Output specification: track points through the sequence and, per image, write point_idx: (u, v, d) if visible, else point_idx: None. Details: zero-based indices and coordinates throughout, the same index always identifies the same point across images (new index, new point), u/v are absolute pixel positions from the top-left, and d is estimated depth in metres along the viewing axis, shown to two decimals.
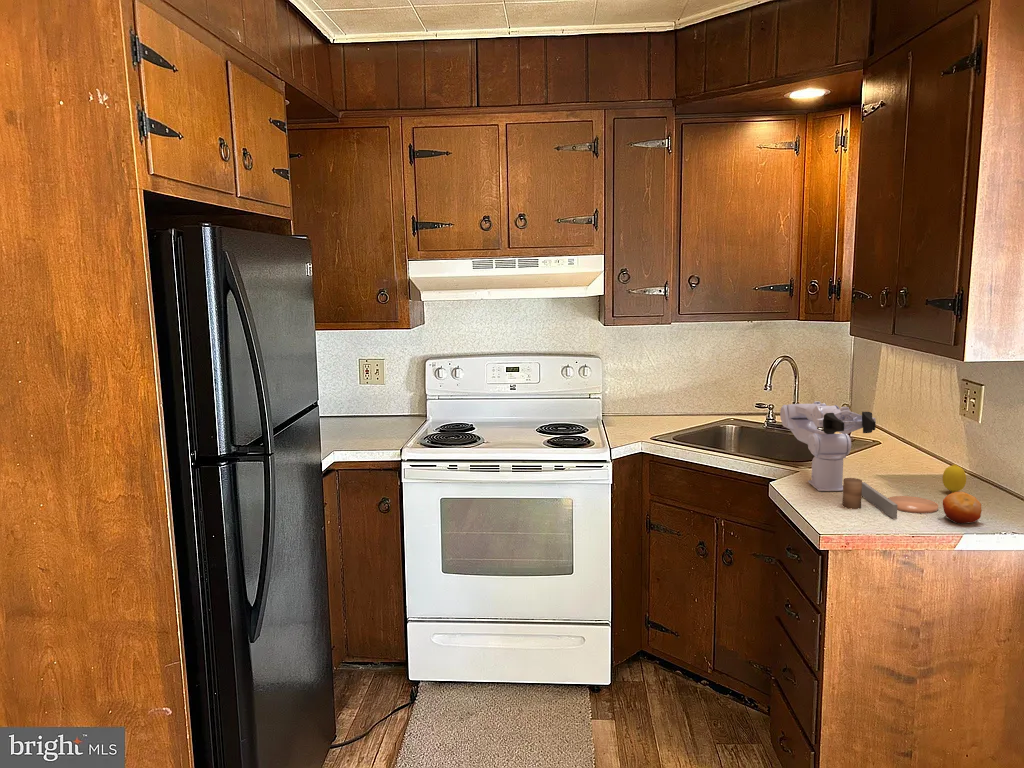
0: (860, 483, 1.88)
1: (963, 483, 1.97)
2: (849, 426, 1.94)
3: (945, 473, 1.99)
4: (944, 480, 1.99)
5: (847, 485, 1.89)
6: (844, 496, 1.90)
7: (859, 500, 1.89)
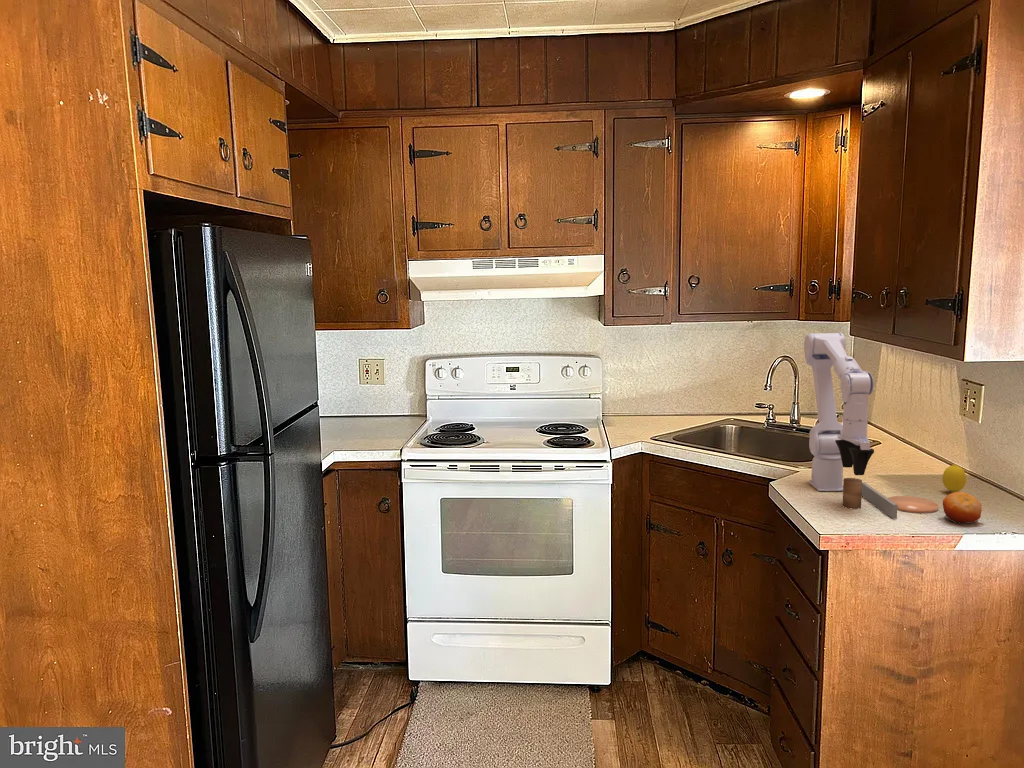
0: (860, 483, 1.88)
1: (963, 483, 1.97)
2: None
3: (945, 473, 1.99)
4: (944, 480, 1.99)
5: (847, 485, 1.89)
6: (844, 496, 1.90)
7: (859, 500, 1.89)
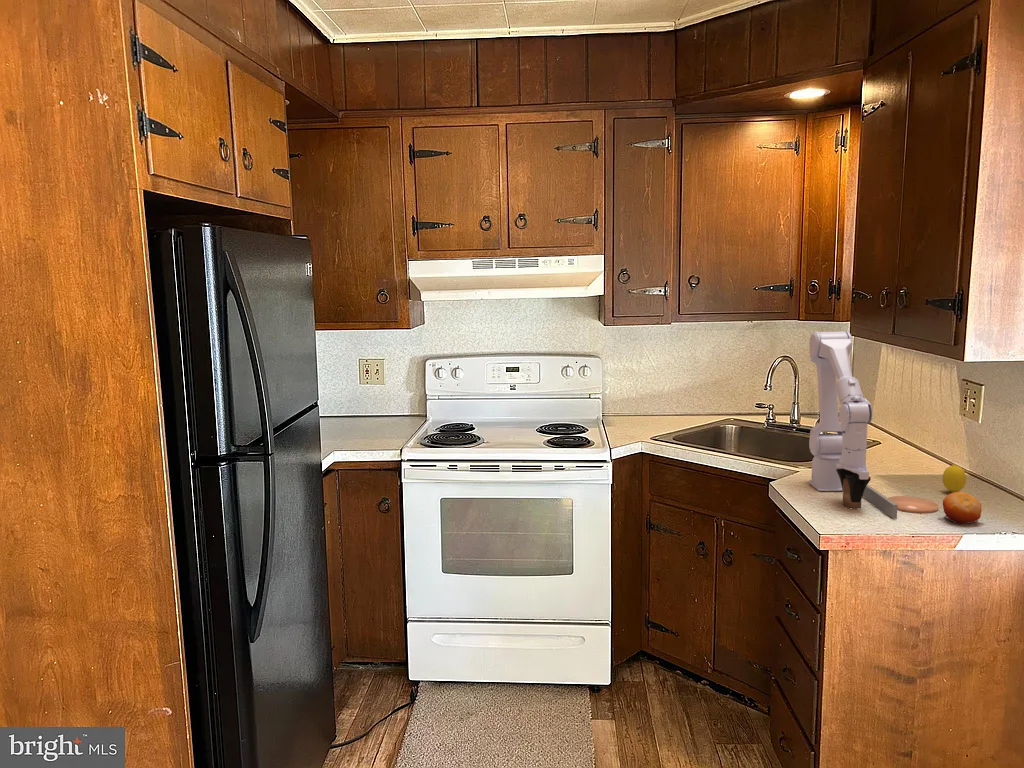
0: None
1: (963, 483, 1.97)
2: None
3: (945, 473, 1.99)
4: (944, 480, 1.99)
5: (847, 485, 1.89)
6: (844, 496, 1.90)
7: None
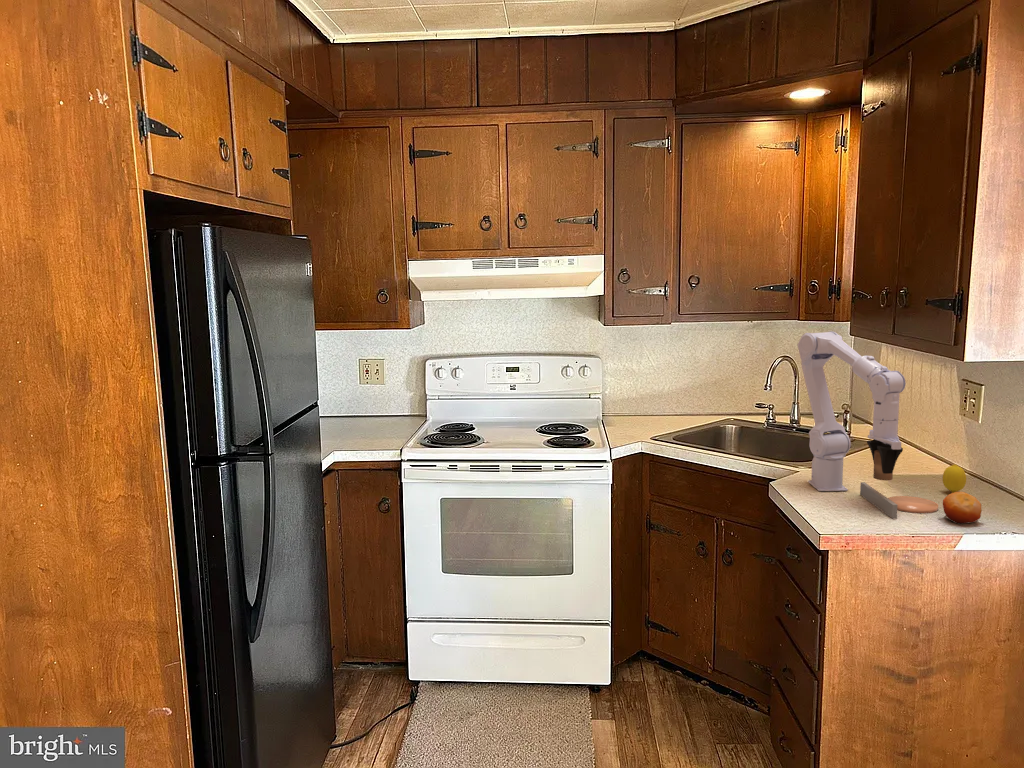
0: None
1: (963, 483, 1.97)
2: None
3: (945, 473, 1.99)
4: (944, 480, 1.99)
5: (879, 456, 1.87)
6: (875, 468, 1.89)
7: None
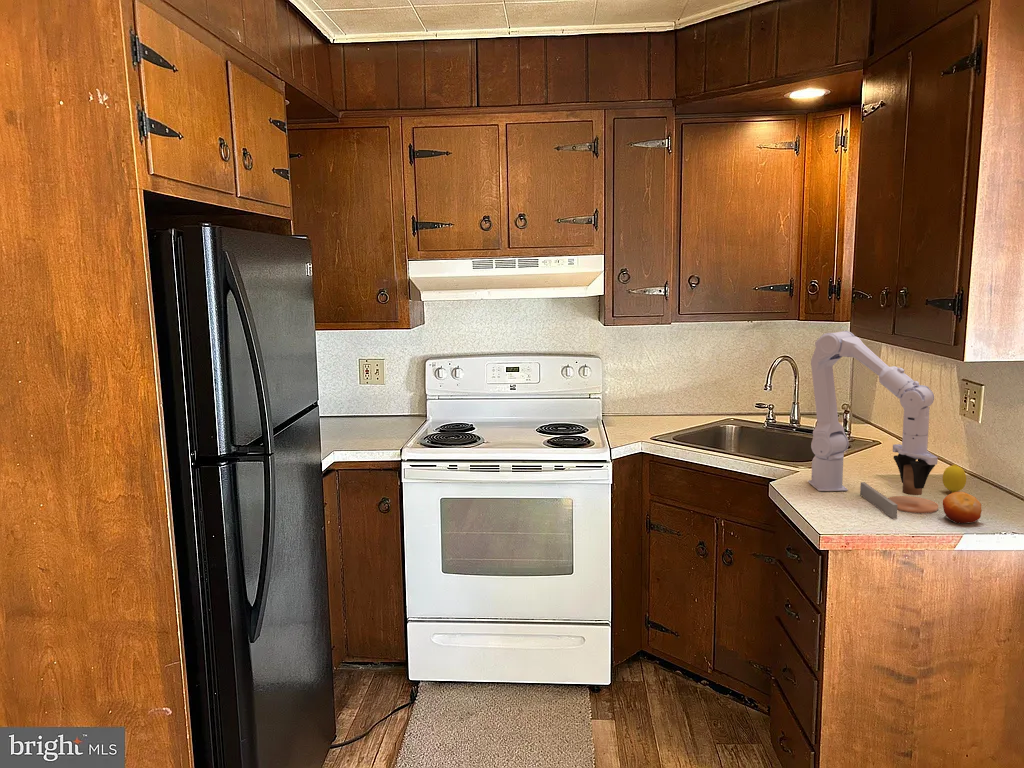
0: None
1: (963, 483, 1.97)
2: None
3: (945, 473, 1.99)
4: (944, 480, 1.99)
5: (910, 472, 1.87)
6: (906, 483, 1.88)
7: None
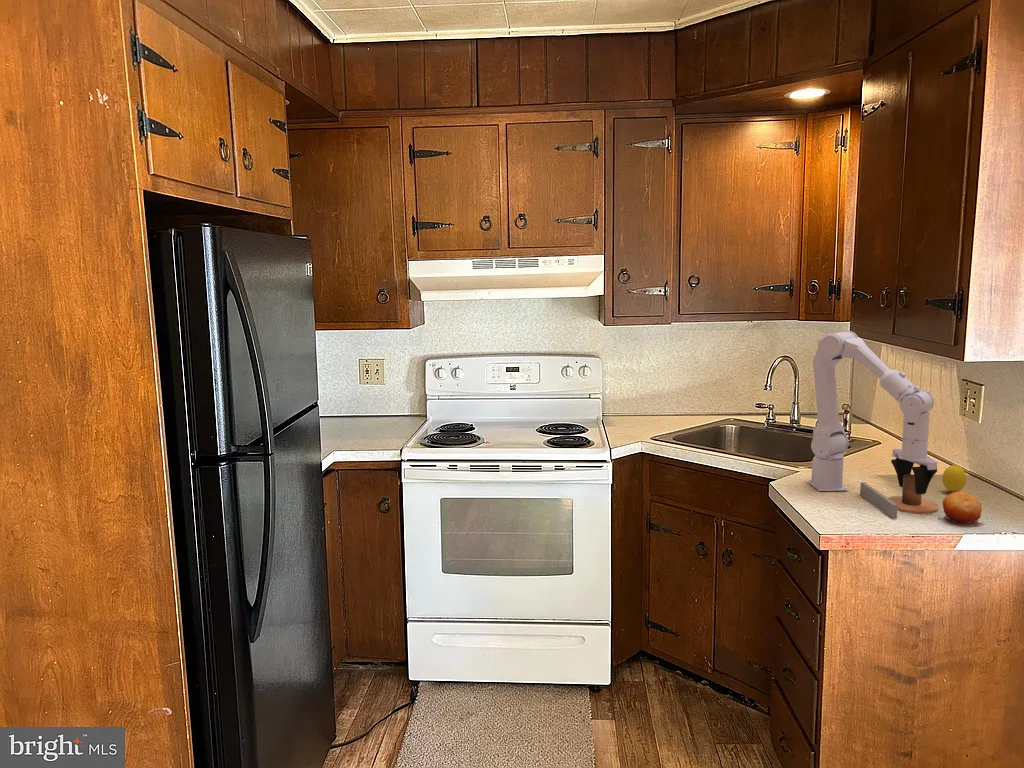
0: None
1: (963, 483, 1.97)
2: None
3: (945, 473, 1.99)
4: (944, 480, 1.99)
5: (910, 482, 1.87)
6: (905, 493, 1.89)
7: (920, 496, 1.88)
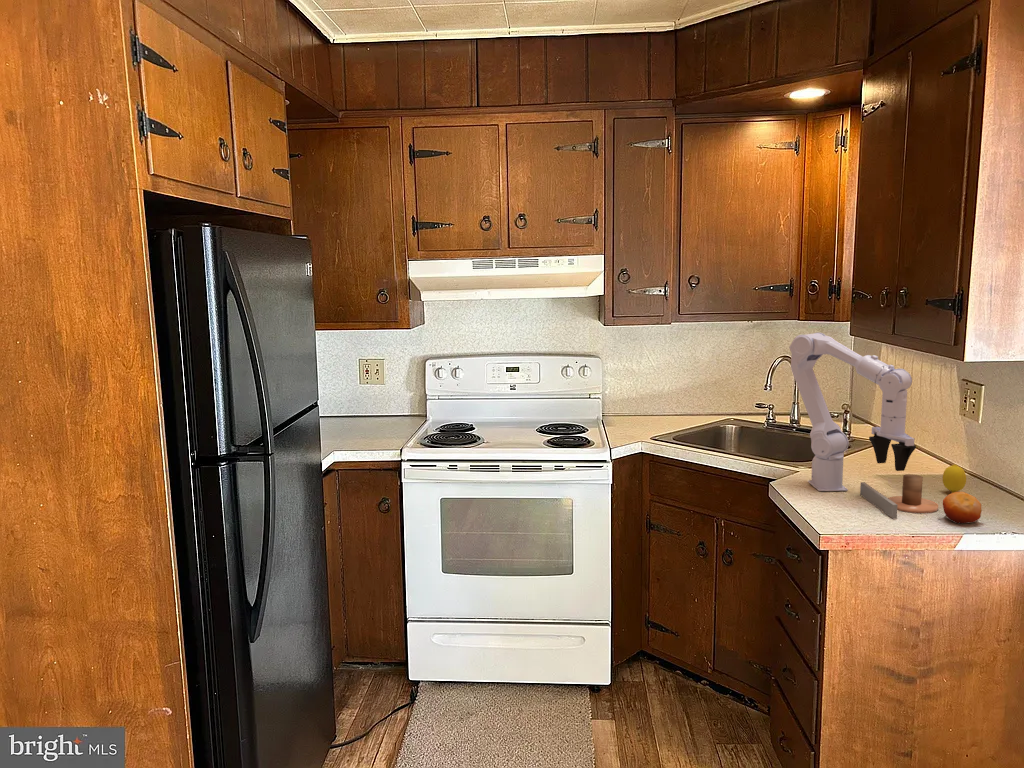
0: (921, 479, 1.87)
1: (963, 483, 1.97)
2: None
3: (945, 473, 1.99)
4: (944, 480, 1.99)
5: (910, 482, 1.87)
6: (905, 493, 1.89)
7: (920, 496, 1.88)
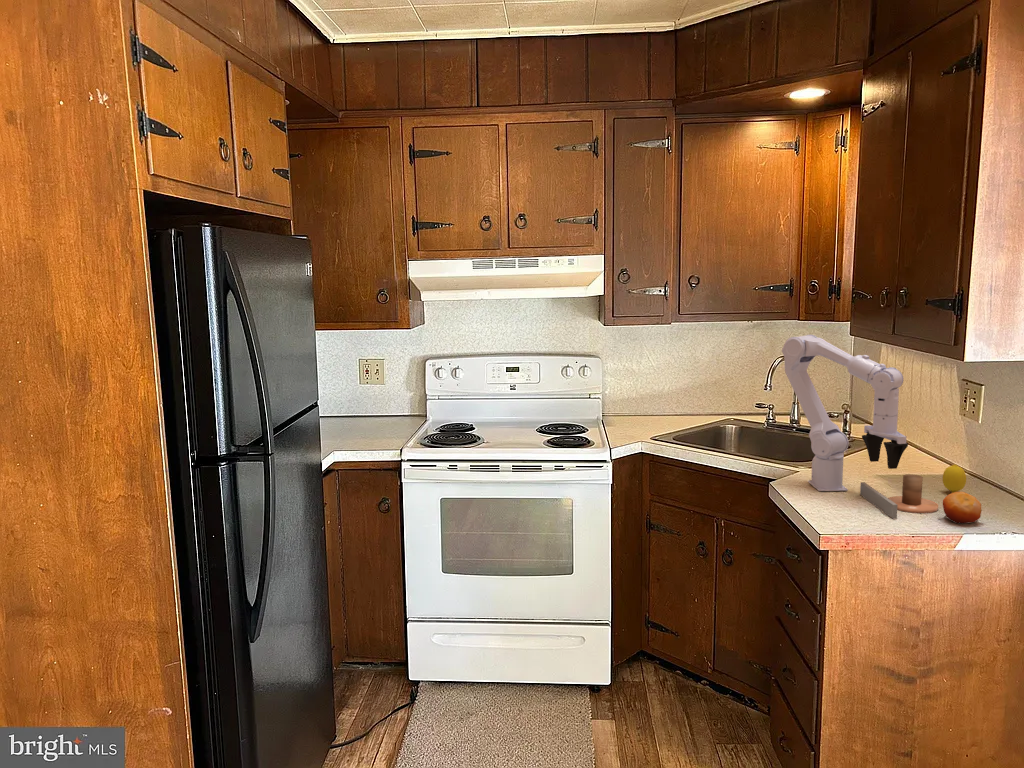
0: (921, 479, 1.87)
1: (963, 483, 1.97)
2: None
3: (945, 473, 1.99)
4: (944, 480, 1.99)
5: (910, 482, 1.87)
6: (905, 493, 1.89)
7: (920, 496, 1.88)
